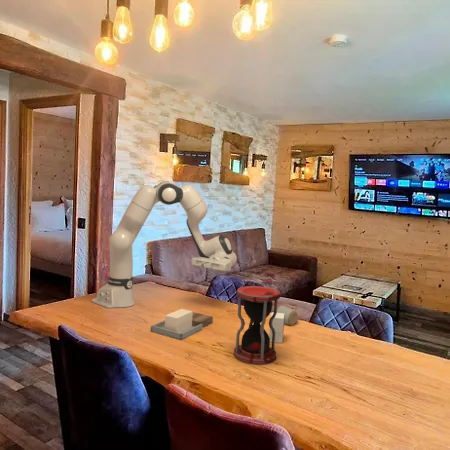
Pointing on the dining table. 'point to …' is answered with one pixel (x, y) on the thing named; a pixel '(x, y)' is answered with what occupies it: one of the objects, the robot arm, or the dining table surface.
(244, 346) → the hourglass
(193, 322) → the brown flat block
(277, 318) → the small box
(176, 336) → the gray tray
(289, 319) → the ceramic mug
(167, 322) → the cream block
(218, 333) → the dining table surface
